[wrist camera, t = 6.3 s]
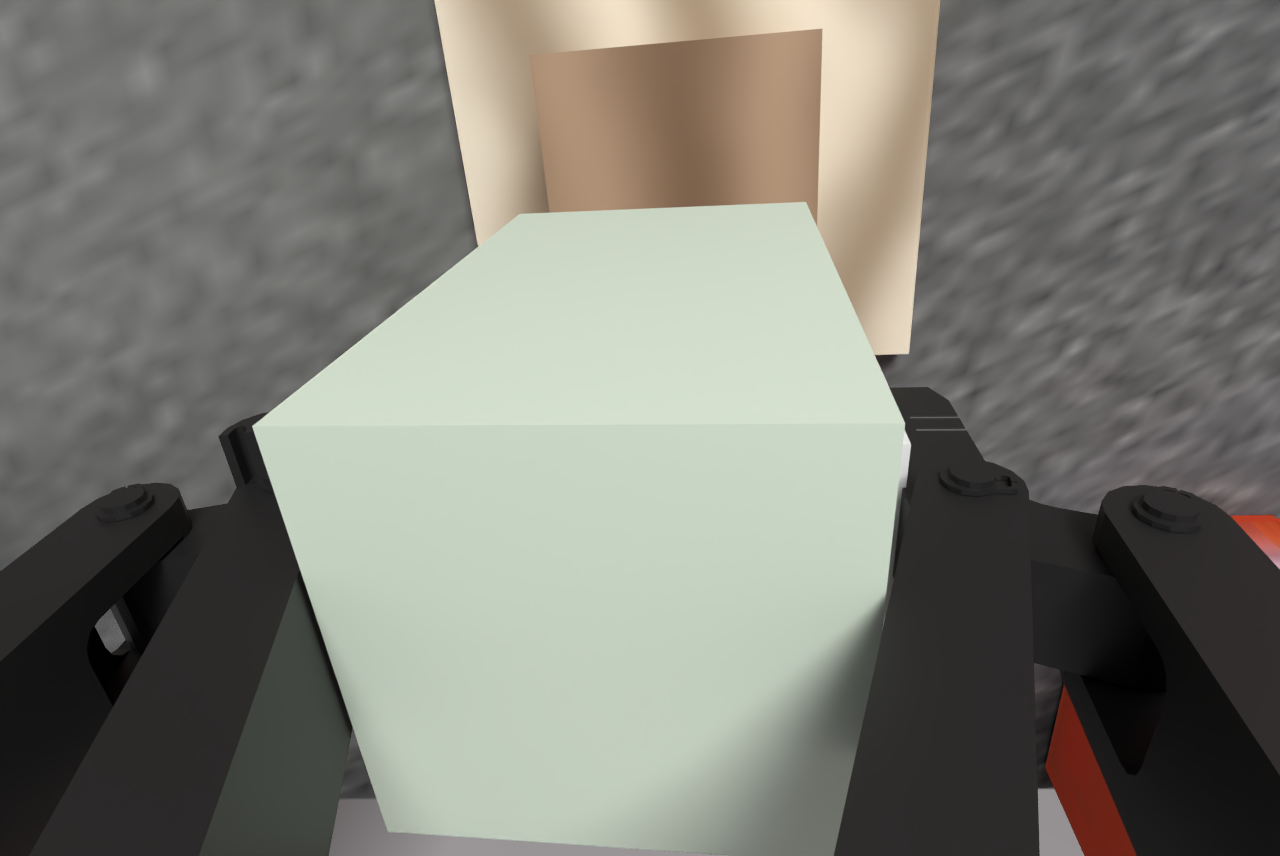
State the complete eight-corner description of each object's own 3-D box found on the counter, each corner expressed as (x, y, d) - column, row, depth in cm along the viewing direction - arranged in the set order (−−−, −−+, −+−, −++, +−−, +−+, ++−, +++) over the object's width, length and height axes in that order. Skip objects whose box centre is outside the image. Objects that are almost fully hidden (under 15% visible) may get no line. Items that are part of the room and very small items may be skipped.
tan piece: (508, 355, 35) (465, 415, 30) (441, -40, 28) (366, -62, 22) (901, 341, 33) (937, 404, 27) (938, -95, 26) (998, -135, 20)
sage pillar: (552, 457, 19) (387, 831, 10) (519, 213, 16) (251, 426, 7) (796, 458, 18) (856, 864, 9) (805, 202, 15) (904, 423, 6)
